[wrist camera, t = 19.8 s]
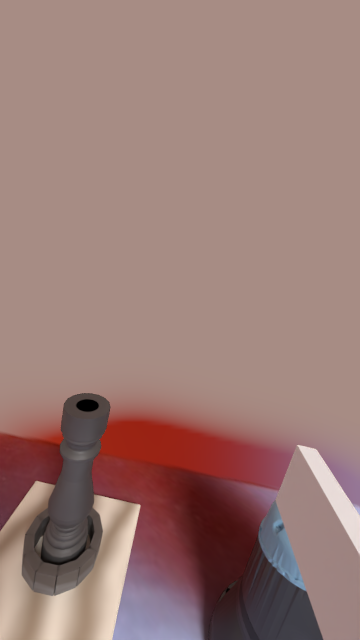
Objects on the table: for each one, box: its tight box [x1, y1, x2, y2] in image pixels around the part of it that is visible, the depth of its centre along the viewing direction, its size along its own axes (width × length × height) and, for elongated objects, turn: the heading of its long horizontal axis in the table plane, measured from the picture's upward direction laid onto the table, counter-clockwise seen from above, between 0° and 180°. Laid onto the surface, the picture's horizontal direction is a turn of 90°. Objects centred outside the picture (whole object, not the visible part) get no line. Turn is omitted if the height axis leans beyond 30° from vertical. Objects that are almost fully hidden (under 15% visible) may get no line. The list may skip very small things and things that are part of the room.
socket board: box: [0, 481, 140, 640], centre depth 39 cm, size 20×20×5 cm
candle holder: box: [41, 393, 110, 566], centre depth 36 cm, size 6×6×25 cm
